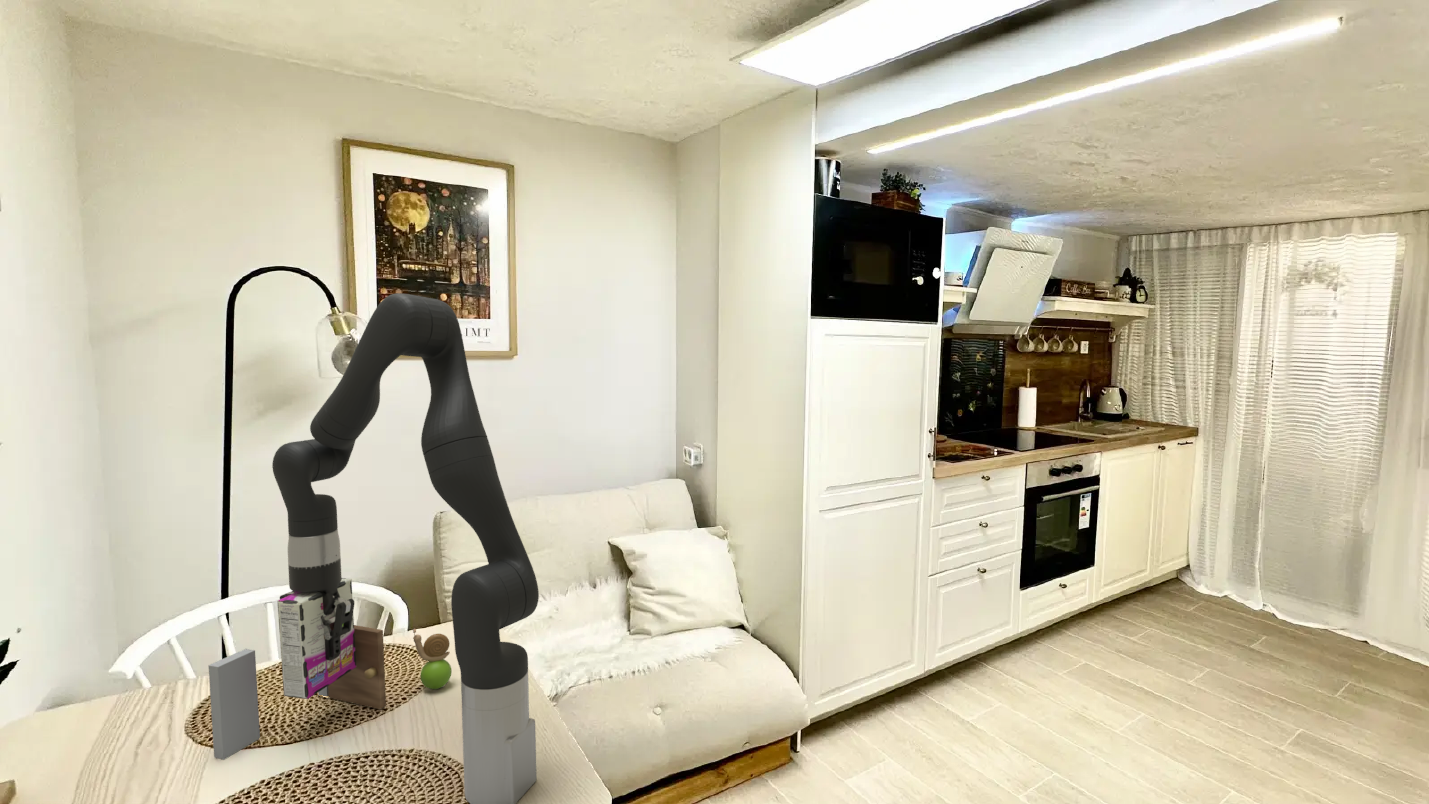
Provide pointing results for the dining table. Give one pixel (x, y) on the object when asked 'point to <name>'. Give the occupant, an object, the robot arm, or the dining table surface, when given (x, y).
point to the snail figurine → (434, 660)
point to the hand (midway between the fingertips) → (319, 655)
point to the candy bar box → (311, 644)
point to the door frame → (235, 703)
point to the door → (364, 672)
